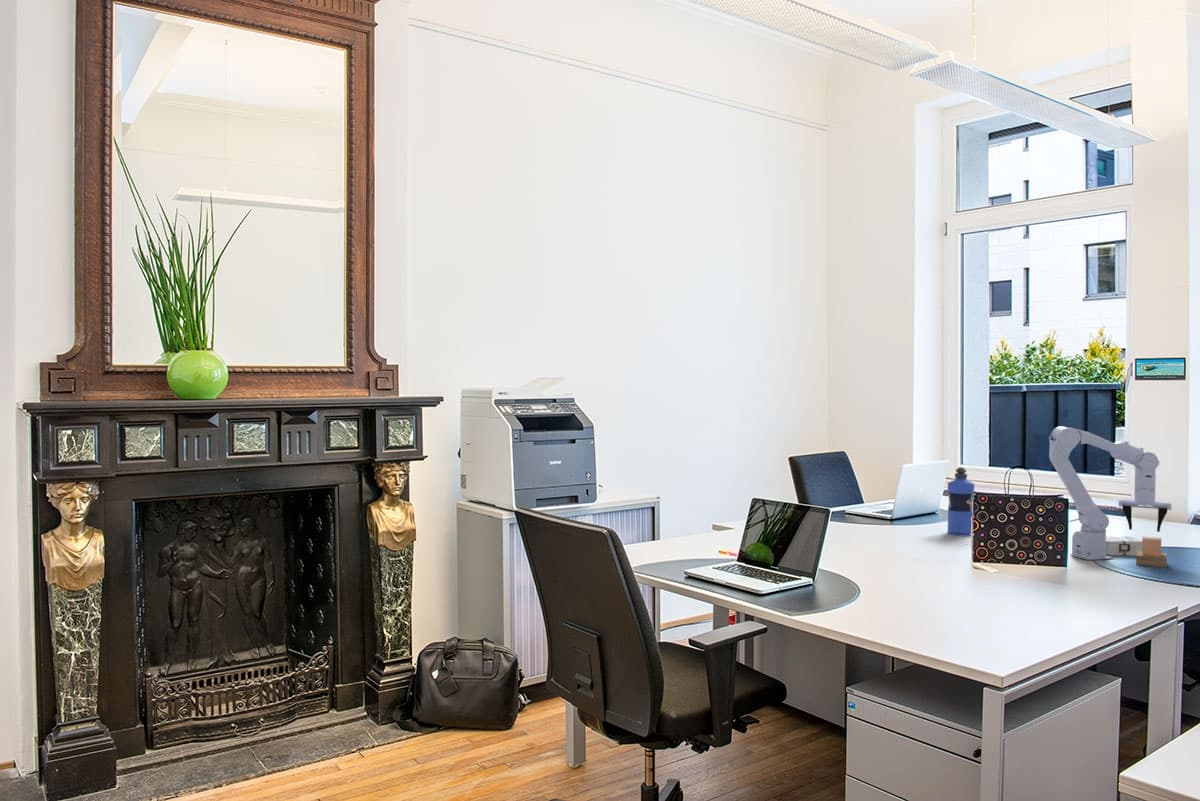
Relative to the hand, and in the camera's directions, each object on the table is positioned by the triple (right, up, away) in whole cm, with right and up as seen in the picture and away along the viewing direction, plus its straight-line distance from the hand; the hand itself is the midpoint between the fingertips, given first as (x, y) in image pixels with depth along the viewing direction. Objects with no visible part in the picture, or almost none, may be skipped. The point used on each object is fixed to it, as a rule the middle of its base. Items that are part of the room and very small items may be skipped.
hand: (1144, 530), depth 286 cm
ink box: (+4, -7, +10) cm, 12 cm away
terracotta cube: (-3, -6, -8) cm, 10 cm away
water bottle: (-40, -9, +48) cm, 63 cm away
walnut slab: (-2, -10, -7) cm, 12 cm away
